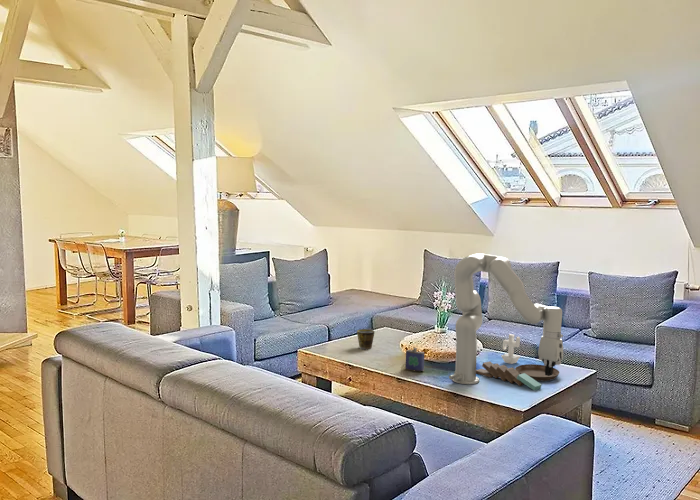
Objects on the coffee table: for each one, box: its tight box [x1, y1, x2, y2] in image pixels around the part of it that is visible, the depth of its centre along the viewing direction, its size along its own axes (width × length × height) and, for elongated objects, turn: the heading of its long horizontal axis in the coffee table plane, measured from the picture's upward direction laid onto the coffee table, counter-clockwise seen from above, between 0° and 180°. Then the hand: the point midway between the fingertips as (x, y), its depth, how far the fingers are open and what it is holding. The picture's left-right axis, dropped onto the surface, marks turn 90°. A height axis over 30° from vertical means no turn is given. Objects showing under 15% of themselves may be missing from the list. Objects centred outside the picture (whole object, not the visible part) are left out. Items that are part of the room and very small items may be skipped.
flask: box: [404, 347, 425, 372], centre depth 314 cm, size 10×3×12 cm, turn 60°
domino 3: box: [489, 363, 509, 383], centre depth 302 cm, size 2×5×10 cm
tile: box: [517, 373, 543, 391], centre depth 290 cm, size 2×5×10 cm
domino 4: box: [496, 364, 516, 384], centre depth 299 cm, size 2×5×10 cm
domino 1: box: [476, 368, 495, 379], centre depth 309 cm, size 2×5×10 cm
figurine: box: [500, 333, 521, 365], centre depth 331 cm, size 7×9×15 cm
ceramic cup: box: [356, 328, 375, 351], centre depth 357 cm, size 13×10×10 cm
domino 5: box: [505, 367, 526, 387], centre depth 295 cm, size 2×5×10 cm
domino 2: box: [481, 361, 500, 380], centre depth 306 cm, size 2×5×10 cm
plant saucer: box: [514, 363, 560, 382], centre depth 308 cm, size 21×21×3 cm
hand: (548, 374), depth 281 cm, fingers closed
